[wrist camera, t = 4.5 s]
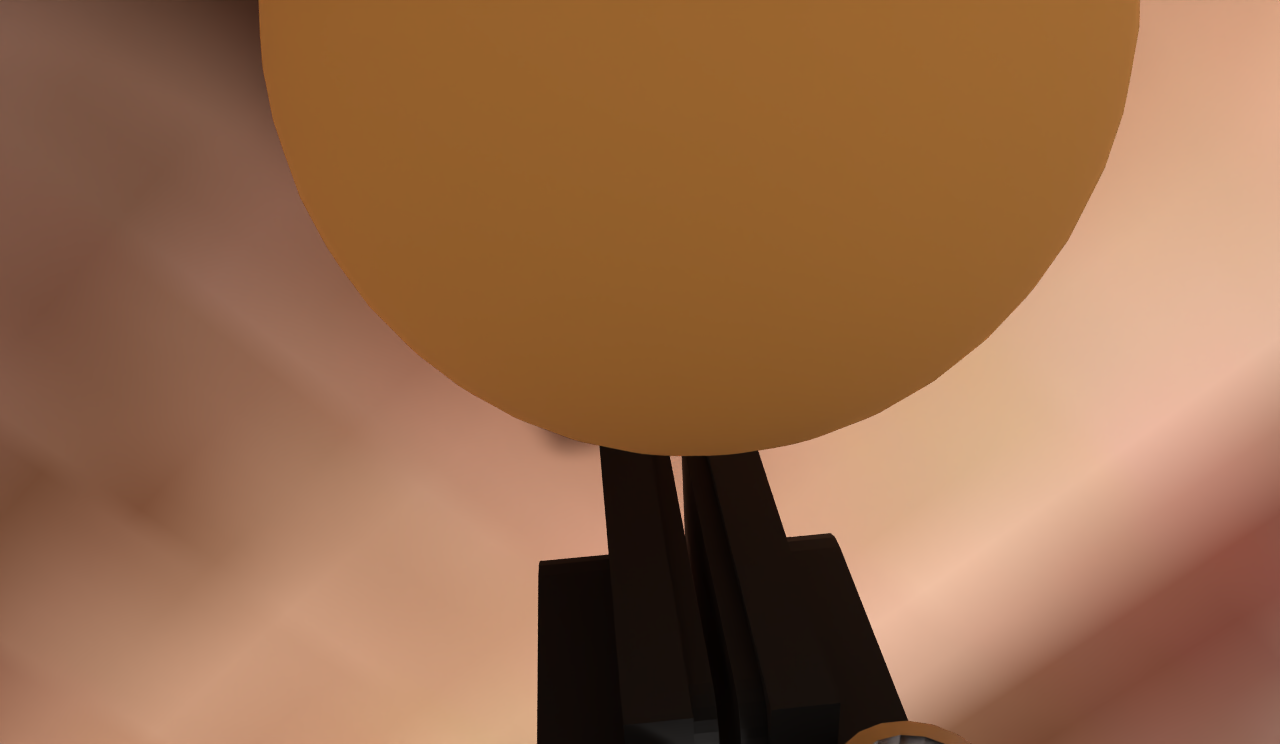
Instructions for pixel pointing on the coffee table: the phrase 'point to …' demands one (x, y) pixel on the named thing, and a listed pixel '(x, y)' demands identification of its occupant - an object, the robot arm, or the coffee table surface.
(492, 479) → the coffee table surface
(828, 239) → the ball
